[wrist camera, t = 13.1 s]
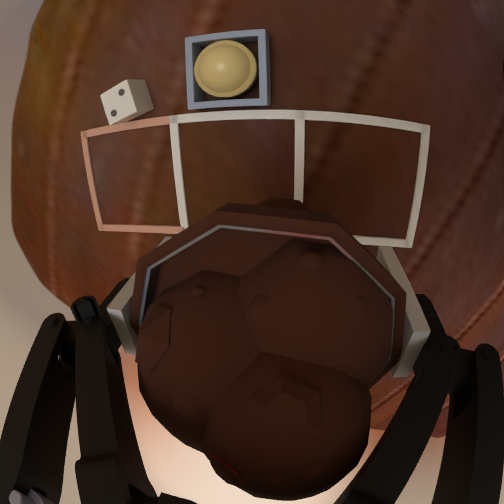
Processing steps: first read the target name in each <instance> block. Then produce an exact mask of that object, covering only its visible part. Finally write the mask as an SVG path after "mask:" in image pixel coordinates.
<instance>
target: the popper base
mask: <svg viewBox="0 0 504 504" xmlns="http://www.w3.org/2000/svg"><path fill="white" fill-rule="evenodd" d="M223 40H230V41H235V42H238V43H246V42H258V54H259V88H260V99H234V100H218V101H205V102H204V93H203V89H202V88H201V87H200V86H199V85H198V83H197V81H196V78H195V74H194V67H195V62H196V60H197V57H198V56H199V54H200V53H201V52H202V47H206V46H209V45H210V44H212V43H215V42H218V41H223ZM185 53H186V80H187V100H188V110H190V109H201V108H214V107H231V106H266V105H271V84H270V49H269V35H268V33H267V31H266V30H265V29H258V30H243V31H231V32H222V33H214V34H206V35H200V36H193V37H188V38H185Z"/></svg>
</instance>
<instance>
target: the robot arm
mask: <svg viewBox="0 0 504 504" xmlns="http://www.w3.org/2000/svg"><path fill="white" fill-rule="evenodd" d="M170 238H172V237H165V238H164V239H163V241H162V242H161V243H160V244H159V245H161V244H162V243H164V242H166V241H167V240H169V239H170ZM159 245H158V246H159ZM158 246H157V247H158ZM377 260H378V261H379V262H380V263H381V264H382V265H383V266H384V267H385V269H386V270H387V271H388V272H389V273H390V274H391V275H392V276H393V277H394V279H395V280H396V281H397V282H398V283H399V284H400V286H401V287H402V288H403V289H404V290H405V292H406V293H407V296H406V311H405V324H404V334H403V343H402V351H401V356H400V358H399V361H398V362H397V364H396V365H395V366H394V367H393V368H392V369H391V372H392V377H408V376H409V374H410V373H411V371H412V369H413V370H414V374H415V376H414V378H413V380H412V382H411V383H410V385H409V387H408V388H407V390H406V391H407V392H406V394H405V396H404V398H403V400H402V402H401V404H400V405H399V407H398V409H397V411H396V413H395V415H394V416H393V418H392V420H391V422H390V423H389V425H388V427H387V429H386V430H385V432H384V434H383V435H382V437H381V439H380V440H379V442H378V443H377V445H376V446H375V448H374V450H373V451H372V453H371V454H370V456H369V457H368V459H367V460H366V462H365V463H364V464H363V466H362V467H361V469H360V470H359V471H358V473H357V474H356V476H355V477H354V479H353V480H352V481H351V482H350V484H349V485H348V486H347V488H346V489H345V490H344V491H343V493H342V494H341V495H340V497H339V498H338V499H337V500H336V501H335V503H334V504H394V503H395V502H396V500H397V498H398V497H399V495H400V493H401V492H402V490H403V489H404V487H405V485H406V483H407V482H408V480H409V478H410V476H411V474H412V473H413V471H414V469H415V467H416V465H417V463H418V461H419V459H420V457H421V455H422V453H423V451H424V449H425V447H426V445H427V443H428V441H429V438H430V436H431V434H432V432H433V429H434V427H435V425H436V422H437V420H438V417H439V415H440V412H441V410H442V407H443V404H444V402H445V399H446V396H447V394H450V401H449V413H448V422H447V430H446V438H445V444H444V450H443V456H442V461H441V467H440V471H439V476H438V480H437V485H436V489H435V493H434V497H433V501H432V504H499V498H500V491H501V484H502V476H503V464H504V391H503V380H502V371H501V363H500V356H499V353H498V352H497V350H496V349H495V348H494V347H493V346H491V345H489V344H480V345H478V346H477V348H476V349H475V351H471V350H466V349H462V348H460V346H459V344H458V342H457V341H456V340H455V339H454V338H452V337H450V336H447V335H446V333H445V331H444V328H443V326H442V324H441V322H440V319H439V317H438V316H437V313H436V311H435V310H434V307H433V305H432V303H431V301H430V300H429V299H428V298H427V297H426V296H425V295H424V294H415V293H414V291H413V289H412V287H411V285H410V282H409V280H408V278H407V276H406V274H405V272H404V270H403V268H402V266H401V264H400V262H399V260H398V258H397V256H396V254H395V252H394V250H393V248H392V247H386V246H379V248H378V254H377ZM135 274H136V272H135V273H134V274H133V276H132V277H131V278H125V279H124V280H122V281H121V282H119V283H118V284H117V285H116V286H115V288H114V289H113V290H112V291H111V292H110V294H109V295H108V296H107V297H106V298H105V300H104V301H103V302H102V303H101V305H100V306H98V303H97V300H96V298H95V297H93V296H83V297H80V298H78V299H77V300H75V301H74V302H73V303H72V305H71V307H70V308H71V310H72V313H73V315H74V317H75V319H76V321H66V319H65V317H64V315H63V314H61V313H54V314H51V315H49V316H48V317H47V318H46V319H45V320H44V321H43V323H42V325H41V328H40V330H39V332H38V334H37V336H36V338H35V341H34V343H33V345H32V347H31V350H30V352H29V354H28V357H27V359H26V362H25V365H24V367H23V369H22V372H21V375H20V378H19V380H18V383H17V386H16V389H15V392H14V394H13V397H12V401H11V404H10V407H9V410H8V413H7V417H6V420H5V424H4V427H3V431H2V435H1V439H0V504H59V501H60V497H61V492H62V485H63V474H64V465H65V456H66V449H67V441H68V435H69V429H70V422H71V418H72V412H73V407H74V402H75V397H76V411H77V424H78V435H79V444H80V452H81V458H80V460H78V461H76V463H75V473H76V479H77V485H78V490H79V495H80V500H81V504H197V503H195V502H193V501H191V500H187V499H183V498H179V497H176V496H172V495H169V494H165V493H162V492H161V494H160V497H157V494H156V492H155V490H154V488H153V486H152V485H151V483H150V481H149V479H148V477H147V475H146V471H145V468H144V465H143V461H142V458H141V454H140V450H139V447H138V443H137V439H136V435H135V431H134V427H133V423H132V418H131V414H130V409H129V404H128V399H127V394H126V389H125V383H124V377H123V371H122V364H121V357H120V354H119V352H118V349H119V347H120V346H121V344H122V346H123V349H124V351H125V353H129V354H133V355H136V349H137V340H138V336H137V335H136V333H135V332H134V330H133V328H132V327H131V325H130V315H131V305H132V297H133V289H134V281H135ZM58 355H59V359H58Z"/></svg>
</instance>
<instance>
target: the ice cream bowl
mask: <svg viewBox="0 0 504 504" xmlns="http://www.w3.org/2000/svg"><path fill="white" fill-rule="evenodd" d="M406 296H407V293H406V292H405V290H404V289H403V288H402V287H401V286H400V284H399V283H398V282H397V281H396V280H395V279H394V277H393V276H392V275H391V274H390V273H389V272H388V271H387V270H386V269H385V267H384V266H383V265H382V264H381V263H380V262H379V261H378V260H377V259H376V258H375V257H374V256H373V255H372V254H371V253H370V252H369V251H368V250H367V249H366V248H365V247H364V246H363V245H362V244H361V243H360V242H359V241H358V240H356V239H355V238H354V237H353V236H352V235H351V234H350V233H349V232H348V231H347V230H346V229H345V228H344V227H343V226H342V225H341V224H340V223H339V222H338V221H337V220H335V219H334V218H333V217H332V216H331V215H330V214H328V213H320V212H312V211H311V210H310V209H309V208H308V207H307V206H305V205H304V204H303V203H302V202H301V201H300V200H293V199H284V198H275V197H270V198H268V199H266V200H265V201H263V202H261V203H259V204H257V205H249V204H238V203H227V204H226V205H224V206H222V207H220V208H218V209H217V210H215V211H213V212H212V213H210V214H208V215H207V216H205V217H203V218H202V219H200V220H199V221H197V222H195V223H194V224H192V225H191V226H189V227H187V228H186V229H184V230H183V231H181V232H180V233H178V234H176V235H175V236H173V237H172V238H170V239H169V240H167V241H166V242H164V243H162V244H161V245H159V246H158V247H156V248H155V249H153V250H152V251H150V252H149V253H147V254H146V255H144V256H143V257H141V258H140V259H138V261H137V267H136V274H135V281H134V289H133V297H132V305H131V315H130V325H131V327H132V328H133V330H134V332H135V333H136V335H137V336H138V340H137V349H136V359H135V362H136V363H138V379H139V390H140V392H141V394H142V396H143V398H144V400H145V402H146V404H147V406H148V408H149V410H150V412H151V413H152V415H153V416H154V417H155V418H156V419H157V420H158V421H159V422H160V423H161V424H162V425H163V426H164V427H165V428H166V429H167V430H168V431H169V432H170V433H171V434H172V435H173V436H175V437H176V438H177V439H179V440H180V441H181V442H183V443H184V444H185V445H187V446H190V447H192V448H194V449H196V450H198V451H200V452H202V453H204V454H205V455H206V457H207V458H208V459H209V460H210V463H211V466H212V467H213V469H214V471H215V472H216V474H217V475H218V476H220V477H221V478H222V479H223V480H224V481H225V482H226V483H228V484H231V485H234V486H236V487H238V488H240V489H242V490H243V491H245V492H247V493H249V494H251V495H252V496H254V497H258V498H265V499H273V500H282V501H293V500H299V499H303V498H308V497H312V496H315V495H317V494H320V493H322V492H324V491H327V490H328V489H330V488H331V487H332V486H334V485H335V484H337V483H338V482H339V481H340V480H341V479H343V478H344V477H345V476H346V475H347V474H348V473H349V472H350V471H352V470H353V469H354V468H355V467H356V466H357V464H358V463H359V461H360V459H361V457H362V455H363V453H364V451H365V449H366V447H367V445H368V438H369V431H370V420H371V395H370V392H369V389H370V388H371V387H372V386H373V385H374V384H375V383H377V382H378V381H379V380H380V379H381V378H382V377H383V376H384V375H385V374H386V373H387V372H388V371H390V370H391V369H392V368H393V367H394V366H395V365H396V364H397V362H398V361H399V358H400V356H401V351H402V343H403V334H404V324H405V311H406Z"/></svg>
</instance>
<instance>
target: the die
mask: <svg viewBox="0 0 504 504" xmlns="http://www.w3.org/2000/svg"><path fill="white" fill-rule="evenodd" d="M100 96H101V99H102V103H103V106H104V109H105V112H106V115H107V118H108V121H109V124H110V125H114V124H119V123H123V122H128V121H130V120H132V119H134V118H136V117H138V116H140V115H142V114H144V113H146V112H149V111H151V110H153V109H154V107H153V103H152V100H151V97H150V94H149V91H148V88H147V85H146V82H145V80H133V79H127V80H125V81H123V82H121V83H120V84H118V85H116V86H115V87H113V88H111V89H110V90H108V91H106V92H105V93H103V94H101V95H100Z"/></svg>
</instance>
